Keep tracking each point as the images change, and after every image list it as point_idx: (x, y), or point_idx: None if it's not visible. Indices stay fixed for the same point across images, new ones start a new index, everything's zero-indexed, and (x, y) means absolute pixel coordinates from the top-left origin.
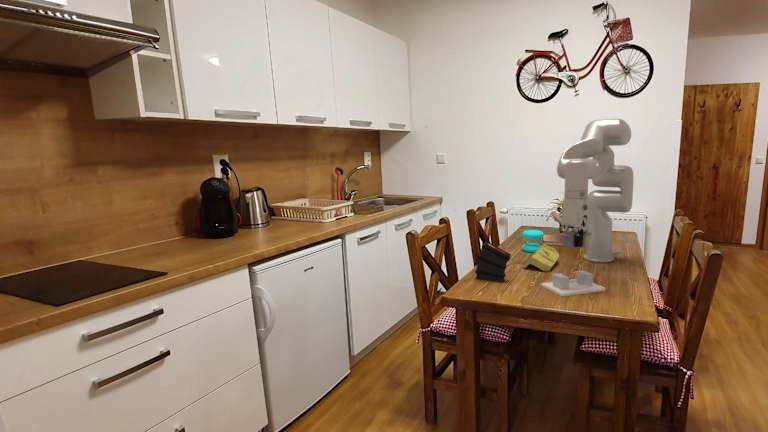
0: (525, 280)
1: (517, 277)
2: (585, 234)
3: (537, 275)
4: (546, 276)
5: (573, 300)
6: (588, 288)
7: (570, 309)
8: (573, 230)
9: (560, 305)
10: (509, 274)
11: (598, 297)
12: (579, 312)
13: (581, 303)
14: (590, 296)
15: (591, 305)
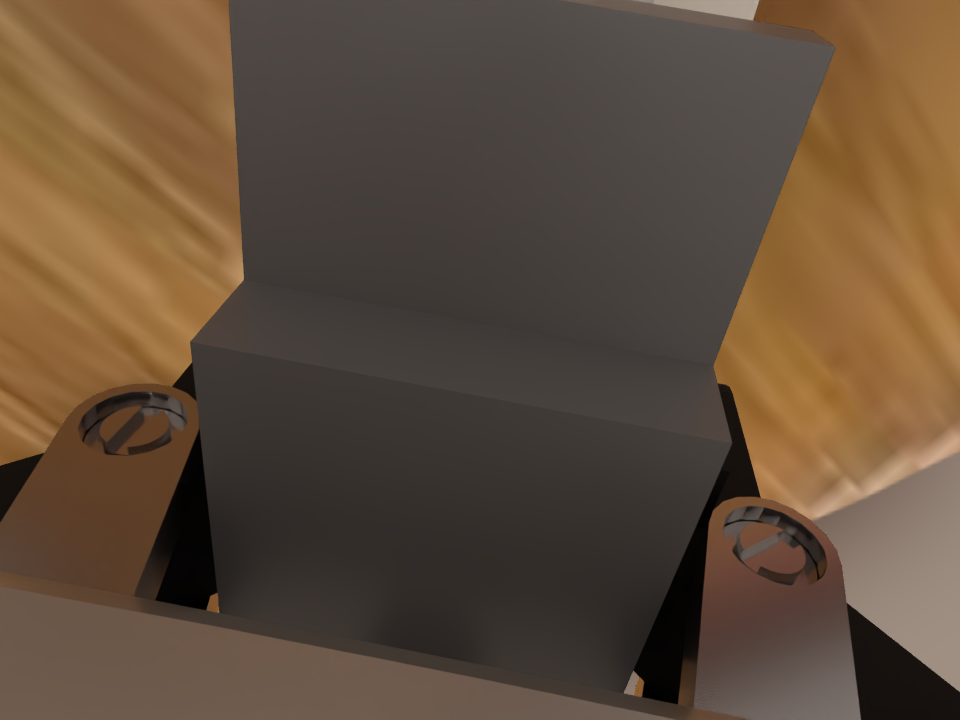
0: (182, 287)
1: (87, 287)
2: (709, 342)
3: (56, 80)
4: (107, 16)
5: (765, 323)
6: (703, 6)
7: (860, 464)
8: (361, 624)
9: (765, 462)
10: None
11: (882, 70)
12: (938, 459)
13: (850, 323)
14: (808, 118)
15: (937, 294)
